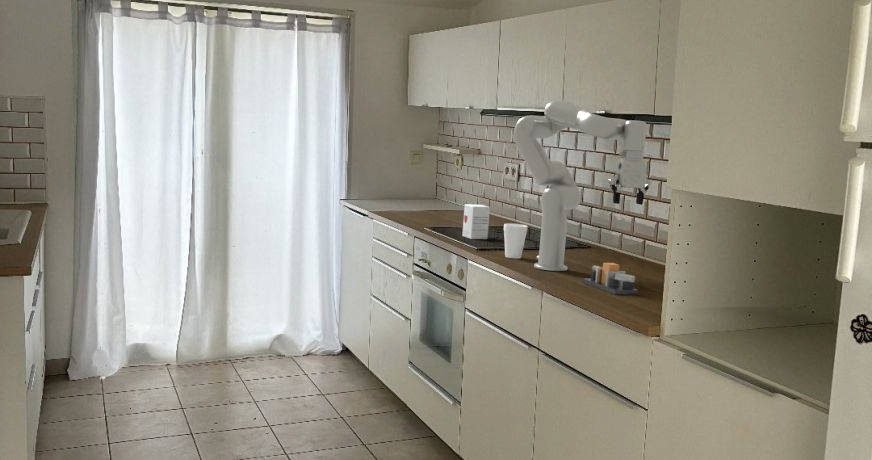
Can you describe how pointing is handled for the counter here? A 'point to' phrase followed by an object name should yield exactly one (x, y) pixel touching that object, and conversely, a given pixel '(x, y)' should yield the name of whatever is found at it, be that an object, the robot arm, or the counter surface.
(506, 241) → the foam cup
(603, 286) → the shaft stand
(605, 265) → the orange block
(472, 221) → the supplement box
